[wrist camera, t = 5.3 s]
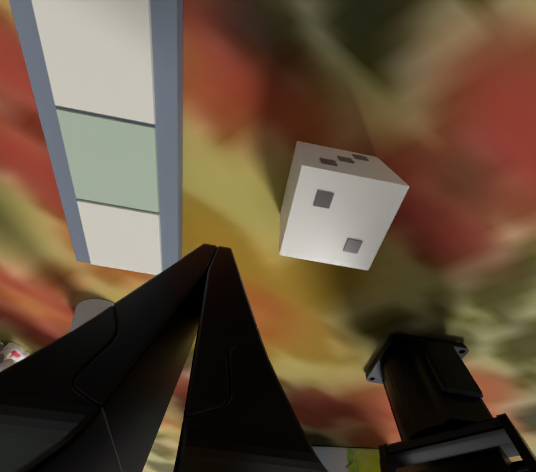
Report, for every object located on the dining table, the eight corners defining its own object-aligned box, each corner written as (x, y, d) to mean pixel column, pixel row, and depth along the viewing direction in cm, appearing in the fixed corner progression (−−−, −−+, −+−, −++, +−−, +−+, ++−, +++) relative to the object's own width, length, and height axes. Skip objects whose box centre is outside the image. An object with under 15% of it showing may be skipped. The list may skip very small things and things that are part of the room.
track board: (181, 270, 19) (177, 279, 19) (84, 254, 19) (74, 262, 18) (185, -536, 6) (170, -630, 5) (-127, -636, 6) (-196, -756, 5)
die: (348, 226, 17) (368, 271, 13) (280, 213, 17) (279, 255, 13) (376, 155, 15) (411, 185, 11) (297, 139, 14) (302, 164, 11)
